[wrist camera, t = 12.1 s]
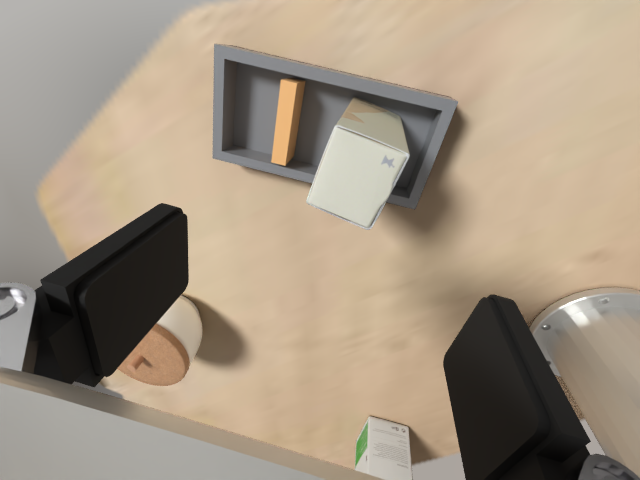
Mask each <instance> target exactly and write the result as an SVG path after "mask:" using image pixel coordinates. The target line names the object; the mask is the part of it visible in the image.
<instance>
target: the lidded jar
mask: <svg viewBox="0 0 640 480" xmlns="http://www.w3.org/2000/svg"><path fill="white" fill-rule="evenodd" d="M202 334H203V329H202V322H201V319H200V314H199V311H198V309H197V307H196V306H195V304H194V303H193V302H192V301H190V300H189V299H188V298H186V297H184V296H182V295H180V297H179V298H178V299H177V300H176V301H175V302H174V304H173V305H172V306H171V307H170V308H169V309H168V310H167V312H166V313H165V314H164V315H163V316H162V317H161V319H160V320H159V321H158V322H157V323H156V324H155V325H154V327H153V328H152V329H151V330H150V331H149V332H148V334H147V335H146V336H145V337H144V338H143V339H142V340H141V342H140V343H139V344H138V345H137V346H136V347H135V349H134V350H133V351H132V352H131V353H130V354H129V355H128V357H127V358H126V359H125V360H124V361H123V362H122V364H121V365H120V366H119V367H118V368H117V369H118V370H120V371H121V372H123V373H124V374H126V375H128V376H130V377H131V378H134V379H136V380H138V381H141V382H143V383H147V384H151V385H157V386H168V385H172V384H175V383H177V382H179V381H181V380H182V379H183V378H184V376H185V374H186V373H187V371H188V369H189V366H190V364H191V363H192V361H193V359H194V357H195V356H196V354H197V351H198V349H199V346H200V343H201V340H202Z"/></svg>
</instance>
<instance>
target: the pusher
mask: <svg viewBox="0 0 640 480" xmlns="http://www.w3.org/2000/svg"><path fill="white" fill-rule="evenodd" d="M305 82H306V81H304V80H300V79H296V78H286V79H281V83H280V91H279V100H278V109H277V117H276V126H275V134H274V143H273V152H272V160H271V162H272V163H276V164H280V165H284V166H286V164H287V163H288V162H289V161H290V160H291V159H292V158H293V157H294V153H295V146H296V140H297V133H298V127H299V120H300V114H301V107H302V101H303V94H304V88H305Z"/></svg>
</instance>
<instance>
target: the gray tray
mask: <svg viewBox="0 0 640 480" xmlns="http://www.w3.org/2000/svg"><path fill="white" fill-rule="evenodd" d="M286 78H296V79H300V80H304V81H306V82H305V88H304V94H303V101H302V107H301V114H300V120H299V127H298V133H297V140H296V146H295V153H294V157H293V158H292V159H291V160H290V161H289V162H288V163H287V164H286V166H284V165H280V164H276V163H272V162H271V160H272V152H273V143H274V134H275V126H276V117H277V109H278V100H279V91H280V83H281V79H286ZM353 97H357V98H359V99H362V100H365V101H367V102H370V103H372V104H375V105H377V106H379V107H382V108H384V109H386V110H388V111H390V112H392V113H395V114H397V115H399V116H400V117H401V121H402V125H403V129H404V133H405V137H406V142H407V146H408V150H409V154H410V156H409V159H408V161H407V163H406V165H405V167H404V169H403V171H402V173H401V175H400V177H399V178H398V180H397V182H396V184H395V186H394V188H393V190H392V192H391V194H390V196H389V198H388V200H387V201H386V202H387V203H391V204H395V205H399V206H403V207H407V208H411V209H416V206H417V204H418V201H419V199H420V196H421V194H422V191H423V189H424V186H425V184H426V181H427V179H428V176H429V174H430V171H431V169H432V166H433V164H434V161H435V159H436V156H437V154H438V151H439V149H440V146H441V144H442V141H443V139H444V136H445V134H446V131H447V129H448V126H449V124H450V121H451V119H452V116H453V114H454V111H455V109H456V106H457V104H458V101H457V100H455V99H453V98H451V97H448V96H444V95H439V94H435V93H431V92H427V91H422V90H418V89H414V88H410V87H406V86H401V85H397V84H393V83H389V82H384V81H380V80H376V79H372V78H367V77H363V76H359V75H355V74H351V73H346V72H342V71H338V70H334V69H329V68H325V67H321V66H317V65H312V64H308V63H304V62H300V61H295V60H291V59H287V58H283V57H279V56H274V55H270V54H266V53H262V52H257V51H253V50H249V49H245V48H240V47H236V46H232V45H222V44H214V99H213V158H214V159H218V160H221V161H225V162H229V163H233V164H237V165H241V166H245V167H249V168H253V169H257V170H261V171H265V172H269V173H273V174H277V175H281V176H285V177H289V178H292V179H296V180H300V181H304V182H308V183H313V180H314V178H315V175H316V172H317V169H318V166H319V164H320V161H321V159H322V156H323V153H324V151H325V148H326V146H327V143H328V141H329V139H330V136H331V134H332V131H333V129H334V127H335V125H336V124H337V123H338V121H339V120H340V118H341V116H342V115H343V113H344V112H345V110H346V108H347V107H348V105H349V104H350V102H351V100H352V99H353Z"/></svg>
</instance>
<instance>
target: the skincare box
mask: <svg viewBox="0 0 640 480" xmlns="http://www.w3.org/2000/svg"><path fill="white" fill-rule="evenodd" d="M355 470H356V471H359V472H362V473H366V474H369V475H372V476H375V477H378V478H382V479H385V480H413V478H412V465H411V453H410V440H409V427H408V426H405V425H402V424H398V423H395V422H391V421H387V420H384V419H380V418H376V417H372V416H369V417H368V419H367V421H366V423H365V424H364V426H363V429H362V431H361V433H360V434H359V436H358V438H357V440H356V454H355Z"/></svg>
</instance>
